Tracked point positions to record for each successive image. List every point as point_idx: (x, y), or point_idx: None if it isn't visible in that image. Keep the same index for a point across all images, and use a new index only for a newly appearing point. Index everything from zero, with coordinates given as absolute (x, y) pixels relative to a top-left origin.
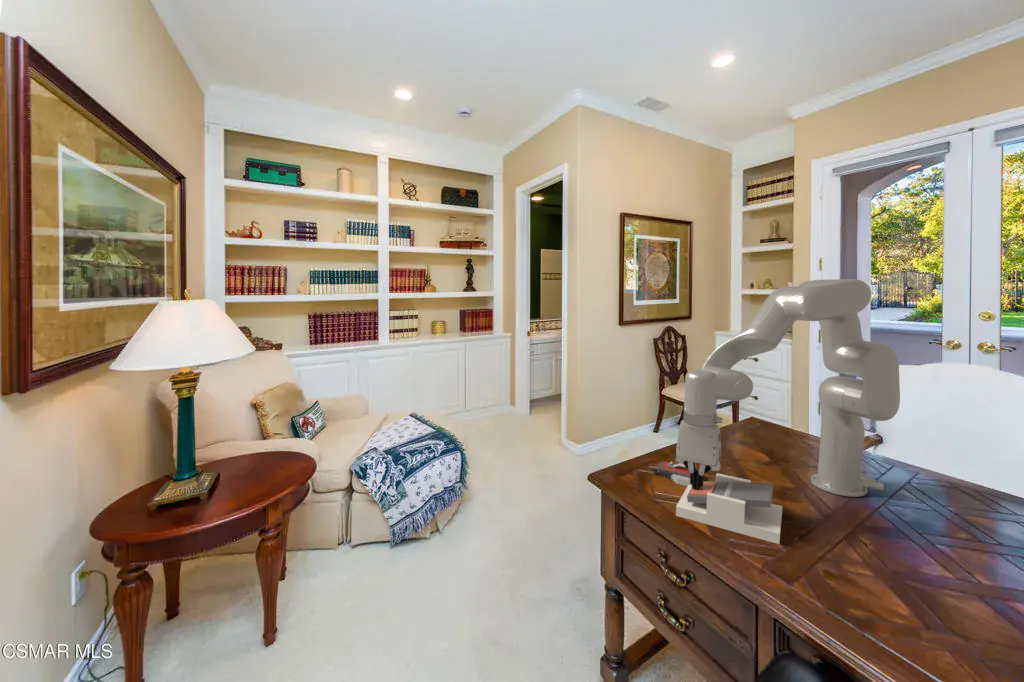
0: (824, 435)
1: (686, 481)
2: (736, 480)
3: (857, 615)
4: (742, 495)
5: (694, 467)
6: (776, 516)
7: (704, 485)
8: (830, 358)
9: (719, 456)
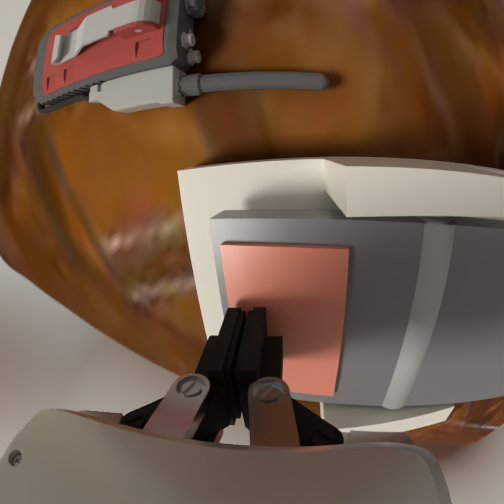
0: None
1: (154, 103)
2: (470, 216)
3: (491, 411)
4: (460, 376)
5: (205, 414)
6: None
7: (285, 303)
8: None
9: (438, 476)
